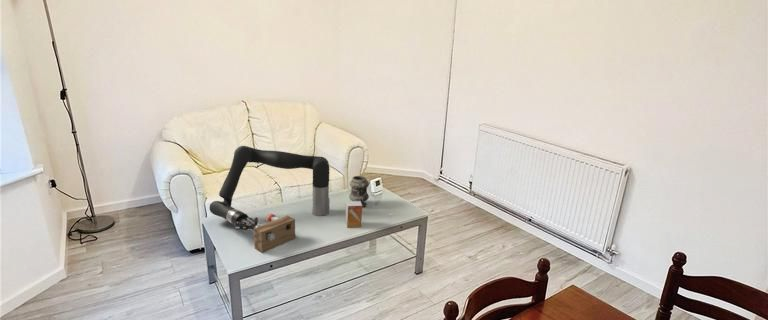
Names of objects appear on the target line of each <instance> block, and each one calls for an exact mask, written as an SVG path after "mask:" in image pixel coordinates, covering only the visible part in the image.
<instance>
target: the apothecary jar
mask: <svg viewBox="0 0 768 320" xmlns="http://www.w3.org/2000/svg"><path fill="white" fill-rule="evenodd" d="M369 186H370V183H369V181H368V180H367V177H366V176H364V175H354V176H352V179H351V180H350V181H349V187H351V191H350V194H349V195H348V198H349V199H350V202H351V201H361V204H362V209H364V208H366V207H367V203H366V201H368V200H369V197H370V196H369V193H368V192H367V190H368V187H369ZM363 207H364V208H363Z"/></svg>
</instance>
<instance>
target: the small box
mask: <svg viewBox="0 0 768 320" xmlns="http://www.w3.org/2000/svg"><path fill="white" fill-rule="evenodd" d="M362 219H363V208H362V204H361V201H351V200H350V201H346V203H345V225H346V228H361V227H362V221H363V220H362Z"/></svg>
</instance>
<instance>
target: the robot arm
mask: <svg viewBox="0 0 768 320" xmlns="http://www.w3.org/2000/svg"><path fill="white" fill-rule="evenodd" d="M234 150H235V151H234V153H233V159H232V161H231V162H232V163H231V165H230V168H229V171H228V173H227V175H226V178H225V180H224V181H223V184H222V186H221V187H220V190H219V192H218V195H219V197H221V198H222V199H223V201H219V200H214V201H212V202H211V203H210V204H209V211H210V213H211V214H213V215H215V216H217V217H220V218H223V219H224V220H225V221H228V222H229V223H231V224H232V225H233V226H235V230H237V231H249V230H250V231H251V230H252V231H253V230H254V227H255V226H256V225H259V224H258V223H259V218H258V217H255V218H252V217H250V216H248V214H247V213H244V212H243V211H241V210H239V209H238V208H237V209H236V208H235V207H232V201H233V196H234V195H235V192H236V189H237V187H238V184H239V181H240V178H241V175H242V173H243V171H244V169H245V168H246V166H247V164H248V163H256V164H257V163H258V164H261V165H262V164H264V165H266V166H270V167H271V168H277V169H278V168H279V169H283V170H294V169H295V170H296V169H307V170H312V209H311V210H312V214H313V215H314V216H317V217H318V216H320V217H322V216H326V215H328V214H330V201H331V200H330V198H329V196H330V195H329V192H330V191H329V189H330V165H329V161H328V159H327V158H325V157H323V156H318V155H317V156H315V155H303V154H297V153H293V152H286V151H282V150H281V151H280V150H263V149H259V148H254V147H252V146H251V147H250V146H247V145H240V146H237V148H236V149H234Z"/></svg>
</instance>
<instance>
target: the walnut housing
mask: <svg viewBox="0 0 768 320" xmlns="http://www.w3.org/2000/svg"><path fill="white" fill-rule="evenodd" d="M278 218H279V217H278ZM286 225H287V227H286ZM268 232H271V233H273V234H275V239H273V240H271V241H270V240H268V239H267V238H266V233H268ZM293 240H296V219H295V218H293V217H291V216H289V215H285V216H282V217H280V218H279V219H277V220H274V221H271V222H267V223H263V224H262V225H260V226H258V227H256V228H254V231H253V244H254V250H256V251H258V252H259V253H261V254H264V253H265V252H269V251H271V250H272V249H275V248H278V247H279V246H282V245H284V244H286V243H289V242H291V241H293Z"/></svg>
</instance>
